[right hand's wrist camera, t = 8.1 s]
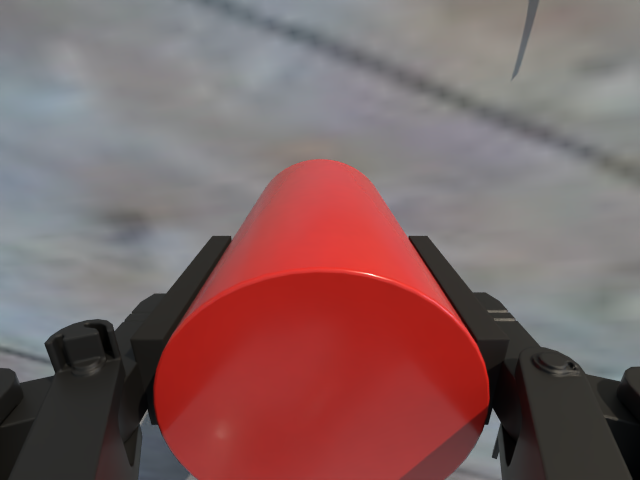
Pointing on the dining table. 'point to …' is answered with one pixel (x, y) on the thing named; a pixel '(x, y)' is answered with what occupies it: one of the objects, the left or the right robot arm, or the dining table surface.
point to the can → (321, 347)
